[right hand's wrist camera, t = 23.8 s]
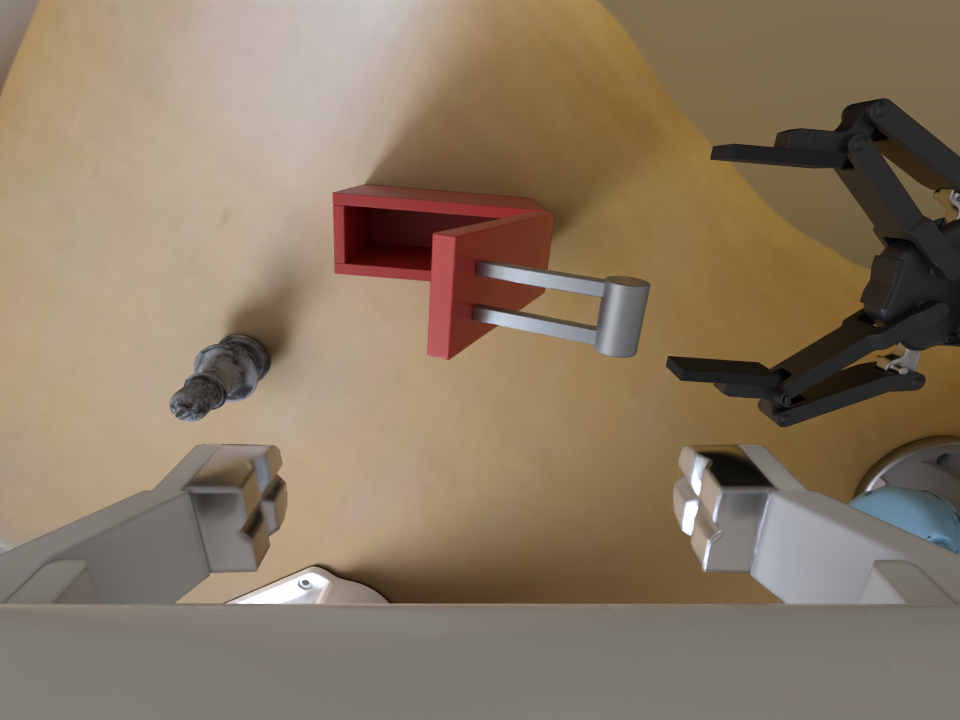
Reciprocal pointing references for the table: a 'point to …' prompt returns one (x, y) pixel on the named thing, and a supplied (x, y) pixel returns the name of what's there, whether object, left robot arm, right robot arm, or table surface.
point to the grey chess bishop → (221, 377)
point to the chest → (406, 226)
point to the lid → (520, 289)
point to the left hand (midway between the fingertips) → (695, 267)
